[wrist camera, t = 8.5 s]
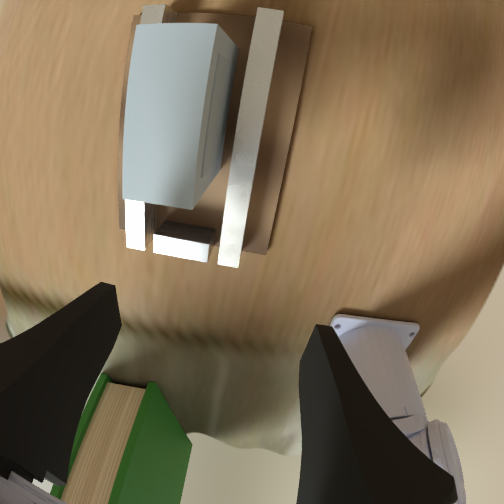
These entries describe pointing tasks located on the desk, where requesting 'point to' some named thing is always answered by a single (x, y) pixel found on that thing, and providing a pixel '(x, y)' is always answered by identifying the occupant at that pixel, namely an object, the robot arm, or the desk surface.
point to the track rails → (242, 163)
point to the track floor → (272, 140)
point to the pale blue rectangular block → (176, 111)
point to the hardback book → (126, 449)
